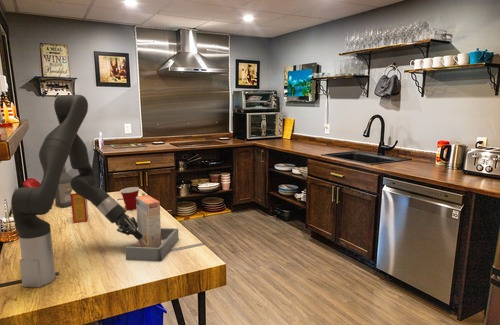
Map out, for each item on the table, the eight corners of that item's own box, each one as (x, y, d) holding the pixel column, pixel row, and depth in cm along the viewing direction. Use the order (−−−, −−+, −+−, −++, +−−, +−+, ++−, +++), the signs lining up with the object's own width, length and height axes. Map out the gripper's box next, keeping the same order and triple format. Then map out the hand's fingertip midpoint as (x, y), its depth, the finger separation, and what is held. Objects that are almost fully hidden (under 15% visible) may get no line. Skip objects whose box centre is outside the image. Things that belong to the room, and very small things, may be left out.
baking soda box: (75, 217, 186) (72, 189, 183) (88, 216, 188) (85, 187, 185) (73, 223, 177) (70, 193, 174) (87, 221, 179) (84, 192, 177)
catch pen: (160, 261, 134) (160, 249, 133) (125, 259, 135) (125, 247, 134) (178, 239, 156) (178, 228, 155) (148, 237, 157) (147, 227, 156)
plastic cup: (119, 207, 203) (118, 188, 201) (138, 205, 208) (137, 186, 206) (122, 212, 194) (121, 192, 192) (142, 209, 199) (141, 189, 197)
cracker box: (162, 248, 145) (160, 201, 141) (148, 252, 141) (145, 203, 138) (151, 238, 156) (148, 194, 153) (137, 241, 153) (135, 196, 149)
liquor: (77, 204, 210) (72, 156, 205) (62, 208, 202) (57, 158, 197) (68, 202, 215) (64, 155, 210) (54, 206, 207) (49, 157, 202)
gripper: (109, 208, 137) (140, 238, 138) (124, 199, 150) (152, 227, 151) (97, 220, 139) (128, 250, 140) (113, 210, 152) (141, 238, 153)
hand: (140, 238), depth 145 cm, fingers closed
